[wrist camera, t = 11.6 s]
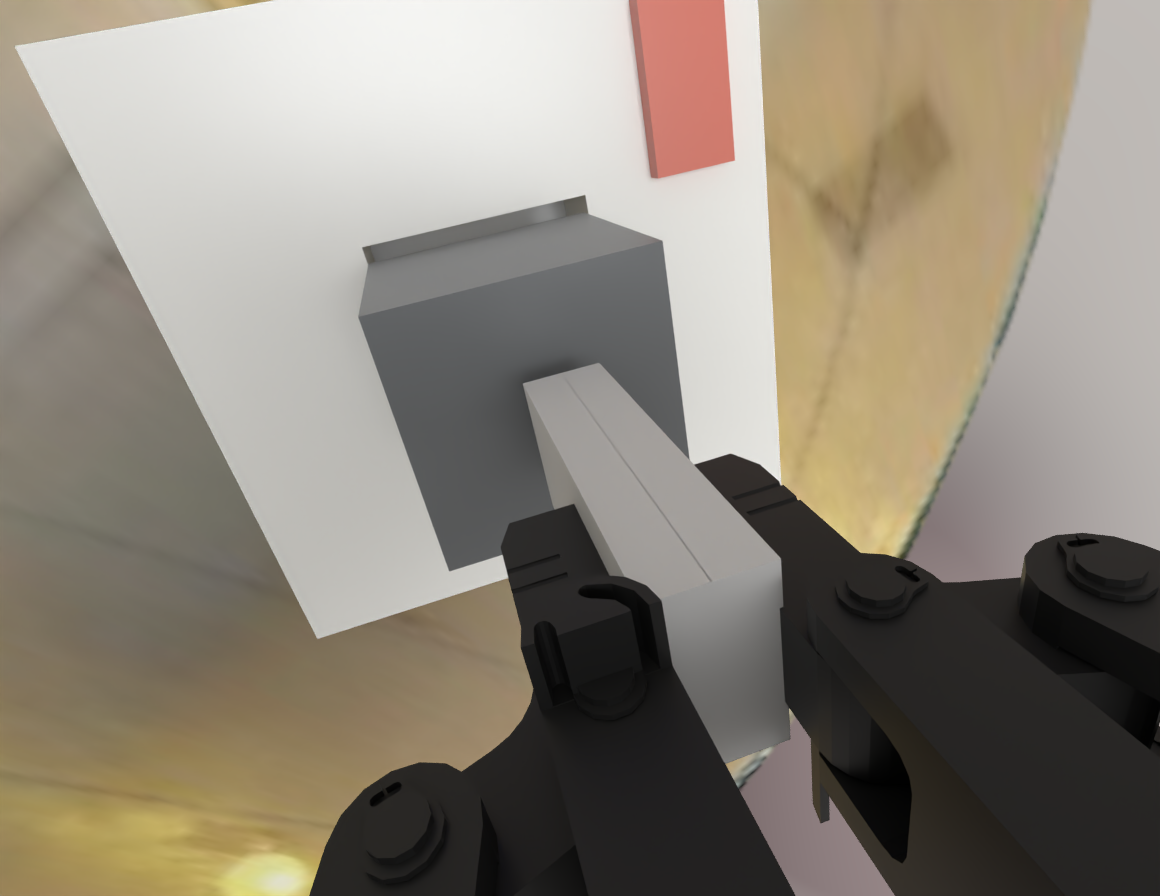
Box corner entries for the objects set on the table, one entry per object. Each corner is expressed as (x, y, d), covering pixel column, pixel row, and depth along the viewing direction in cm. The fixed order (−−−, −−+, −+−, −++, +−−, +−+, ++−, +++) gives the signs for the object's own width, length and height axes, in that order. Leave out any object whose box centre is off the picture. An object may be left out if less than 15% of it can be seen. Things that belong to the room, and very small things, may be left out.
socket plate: (326, 579, 26) (315, 650, 22) (80, 63, 17) (0, 42, 14) (739, 453, 28) (789, 497, 25) (698, -50, 20) (765, -92, 16)
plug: (427, 411, 23) (449, 571, 15) (372, 243, 21) (358, 316, 12) (585, 368, 24) (693, 495, 15) (552, 201, 21) (662, 240, 13)
